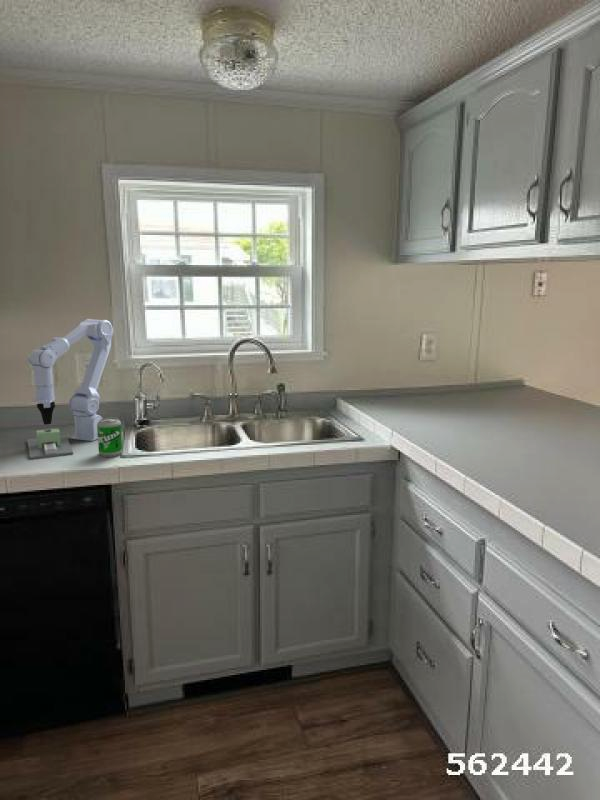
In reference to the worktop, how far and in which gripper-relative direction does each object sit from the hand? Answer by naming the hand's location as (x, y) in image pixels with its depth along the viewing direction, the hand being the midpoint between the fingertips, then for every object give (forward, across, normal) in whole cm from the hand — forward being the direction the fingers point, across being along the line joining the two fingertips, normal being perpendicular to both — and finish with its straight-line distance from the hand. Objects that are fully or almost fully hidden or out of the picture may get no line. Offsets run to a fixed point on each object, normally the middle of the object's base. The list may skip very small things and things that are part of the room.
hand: (47, 424), depth 188 cm
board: (+8, 0, 0) cm, 9 cm away
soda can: (+9, +16, +18) cm, 26 cm away
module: (+8, 0, 0) cm, 8 cm away
